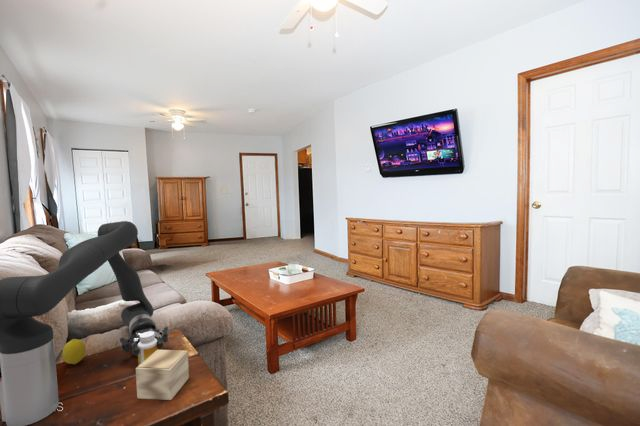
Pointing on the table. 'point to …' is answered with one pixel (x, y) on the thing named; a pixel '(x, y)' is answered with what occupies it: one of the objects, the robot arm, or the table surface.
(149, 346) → the supplement bottle
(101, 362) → the table surface
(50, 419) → the table surface
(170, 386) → the maple block
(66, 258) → the robot arm
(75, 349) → the lemon
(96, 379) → the table surface
